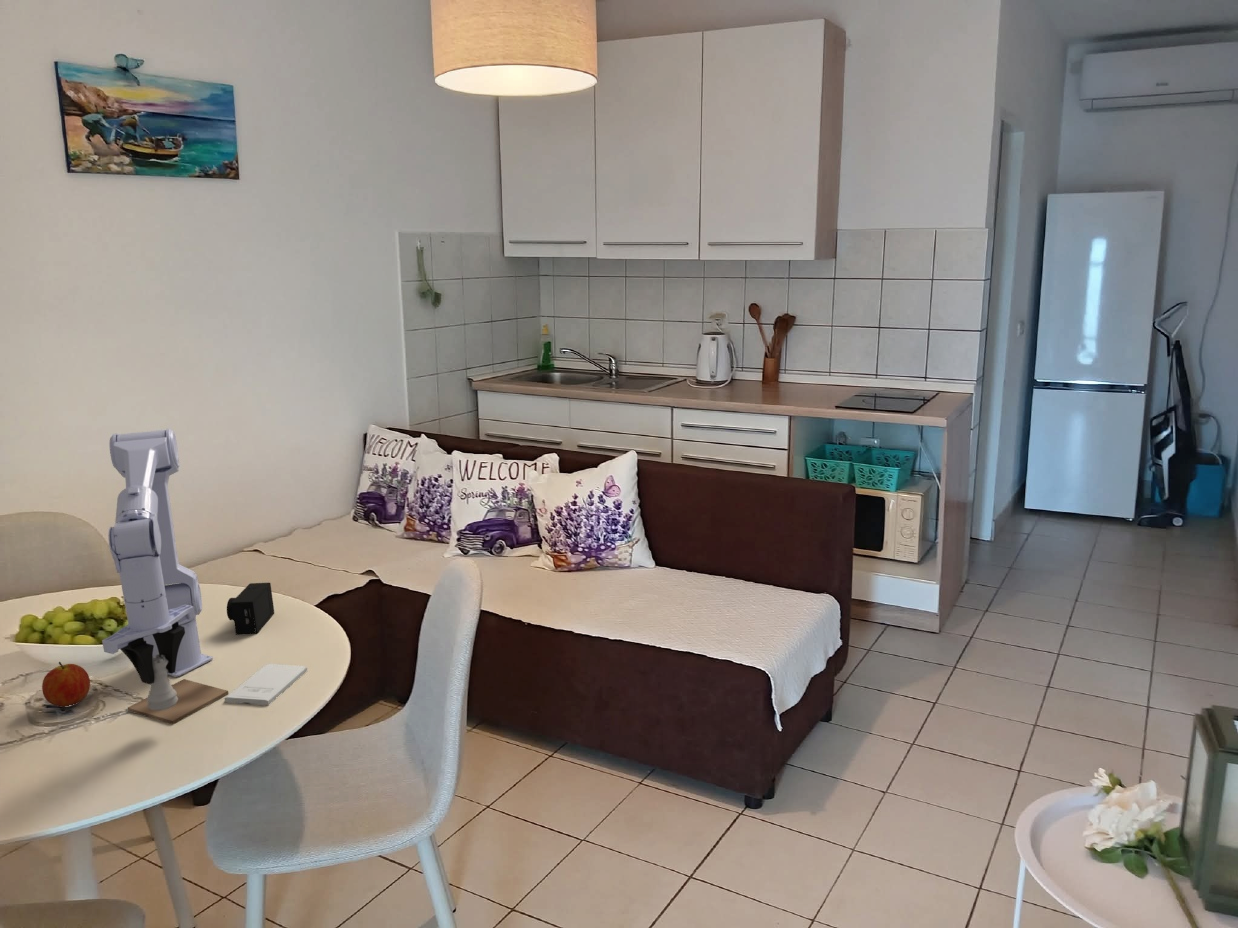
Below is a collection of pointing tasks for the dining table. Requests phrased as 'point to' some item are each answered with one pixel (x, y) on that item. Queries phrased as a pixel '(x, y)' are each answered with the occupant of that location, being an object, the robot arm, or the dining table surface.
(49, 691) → the fruit
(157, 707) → the rook chess piece
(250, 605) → the digital camera
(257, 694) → the external hard drive
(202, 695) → the walnut coaster
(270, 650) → the dining table surface
